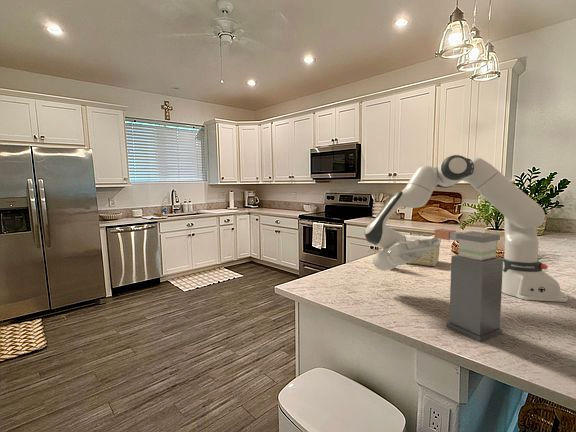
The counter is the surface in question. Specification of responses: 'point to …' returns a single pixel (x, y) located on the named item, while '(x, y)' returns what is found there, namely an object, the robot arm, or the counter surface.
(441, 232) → the layered grey-topped block
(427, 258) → the storage basket
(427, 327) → the counter surface
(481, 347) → the counter surface
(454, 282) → the sleeve
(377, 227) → the robot arm
